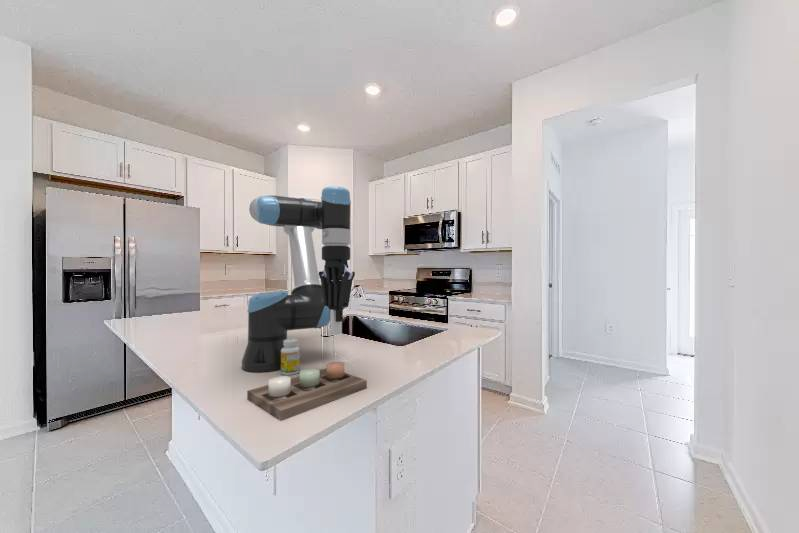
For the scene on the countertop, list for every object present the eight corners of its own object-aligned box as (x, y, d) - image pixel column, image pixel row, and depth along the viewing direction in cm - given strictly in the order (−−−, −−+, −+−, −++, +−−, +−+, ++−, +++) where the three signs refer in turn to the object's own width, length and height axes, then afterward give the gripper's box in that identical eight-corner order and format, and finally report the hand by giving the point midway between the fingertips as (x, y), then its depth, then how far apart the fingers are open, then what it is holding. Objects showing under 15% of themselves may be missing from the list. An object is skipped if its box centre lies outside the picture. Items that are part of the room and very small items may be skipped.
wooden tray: (247, 399, 78) (247, 390, 78) (329, 374, 96) (329, 367, 96) (280, 420, 67) (280, 410, 67) (366, 387, 85) (366, 380, 85)
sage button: (295, 383, 81) (295, 371, 81) (312, 378, 85) (312, 367, 85) (306, 388, 78) (306, 375, 78) (323, 383, 82) (323, 371, 81)
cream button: (264, 392, 75) (264, 379, 75) (284, 387, 79) (284, 374, 79) (274, 398, 72) (274, 385, 72) (294, 392, 76) (294, 379, 76)
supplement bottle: (300, 374, 96) (300, 341, 96) (281, 376, 93) (281, 343, 93) (298, 368, 101) (298, 337, 100) (280, 370, 98) (280, 339, 98)
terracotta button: (322, 375, 87) (322, 364, 87) (337, 371, 91) (337, 360, 91) (333, 379, 84) (333, 368, 84) (348, 375, 87) (348, 364, 87)
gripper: (310, 246, 89) (310, 332, 88) (340, 243, 80) (340, 339, 80) (332, 247, 94) (332, 328, 94) (362, 245, 86) (362, 334, 85)
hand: (336, 333), depth 87 cm, fingers closed
